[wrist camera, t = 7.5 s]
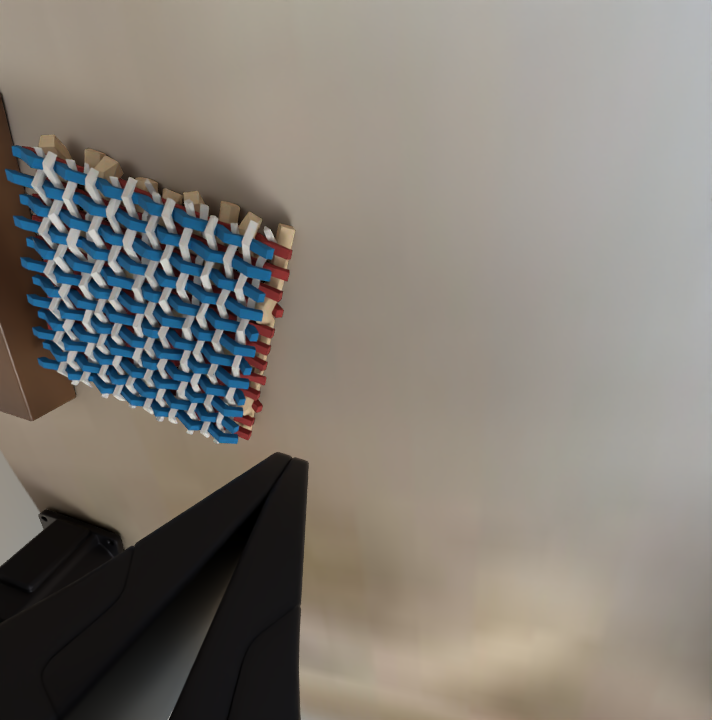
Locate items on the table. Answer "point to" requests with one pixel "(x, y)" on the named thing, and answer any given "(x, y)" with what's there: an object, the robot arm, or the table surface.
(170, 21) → the table surface
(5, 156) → the bar
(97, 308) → the woven mat
